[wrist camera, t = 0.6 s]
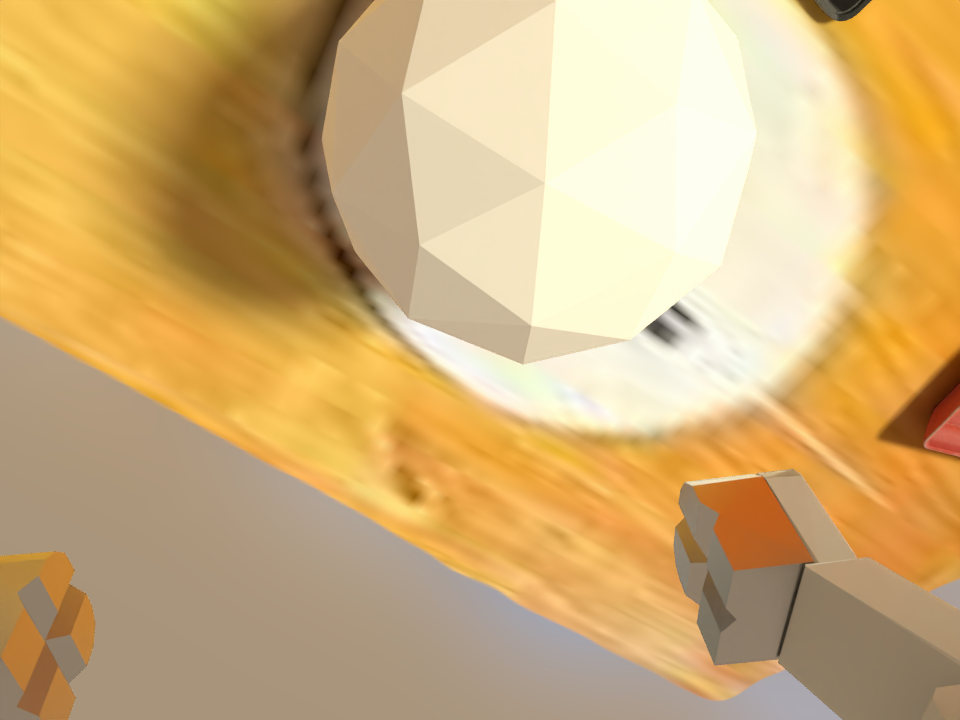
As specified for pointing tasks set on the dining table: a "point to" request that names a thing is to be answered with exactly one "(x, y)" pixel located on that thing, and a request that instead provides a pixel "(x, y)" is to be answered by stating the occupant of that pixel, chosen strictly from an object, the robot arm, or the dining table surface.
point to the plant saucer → (945, 425)
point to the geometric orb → (538, 162)
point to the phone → (841, 8)
